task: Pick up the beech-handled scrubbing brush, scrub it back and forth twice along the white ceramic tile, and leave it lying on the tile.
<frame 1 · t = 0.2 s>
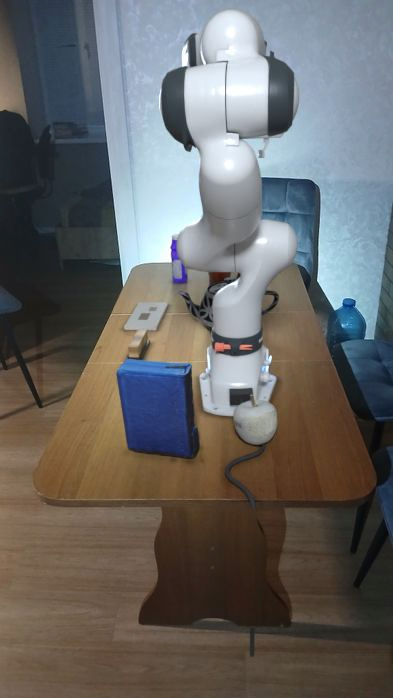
hand: (242, 158, 128), 48 cm above the table, tool pointing down, fingers open, 8 cm apart
tile: (147, 316, 161), on the table
bottle: (180, 281, 190), on the table
book: (163, 451, 100), on the table
teapot: (227, 326, 152), on the table
brush: (139, 351, 139), on the table
mug: (224, 295, 175), on the table
decorative object: (255, 440, 102), on the table
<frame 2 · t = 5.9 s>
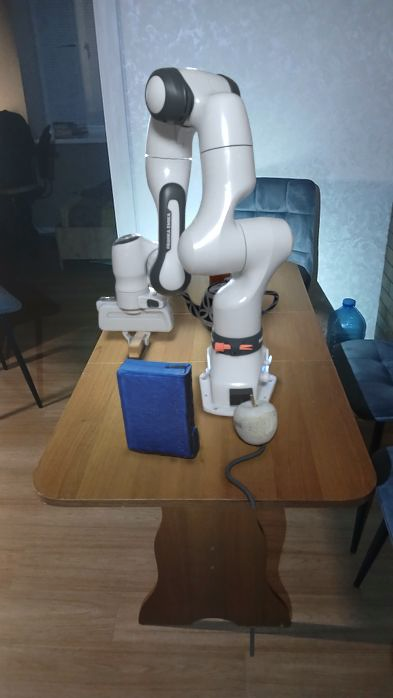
hand: (138, 344, 138), 2 cm above the table, tool pointing down, fingers closed on brush, 2 cm apart
brush: (139, 351, 139), on the table, touching gripper
everything else where it was.
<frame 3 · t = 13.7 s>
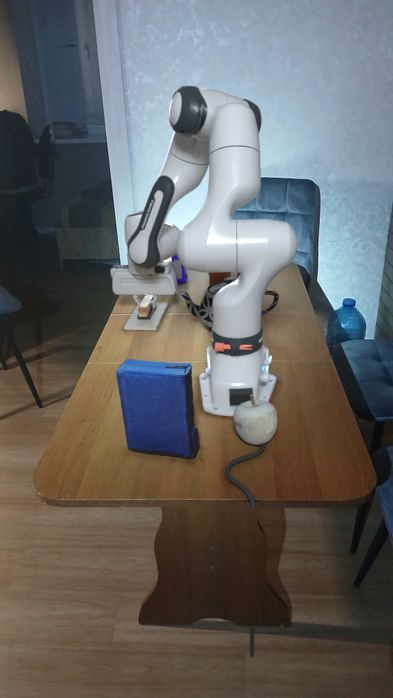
hand: (146, 306, 160), 3 cm above the table, tool pointing down, fingers closed on brush, 2 cm apart
brush: (147, 313, 160), point 1 cm above the table, touching gripper
everything else where it was.
when the fingers open (3 cm above the table, at t = 21.5 s): brush stays where it is, resting on tile.
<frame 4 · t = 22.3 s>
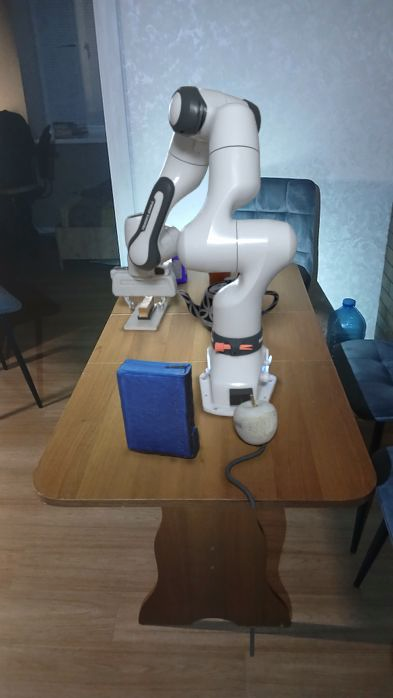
hand: (146, 308, 159), 3 cm above the table, tool pointing down, fingers open, 8 cm apart
brush: (147, 313, 160), point 1 cm above the table, touching tile
everything else where it was.
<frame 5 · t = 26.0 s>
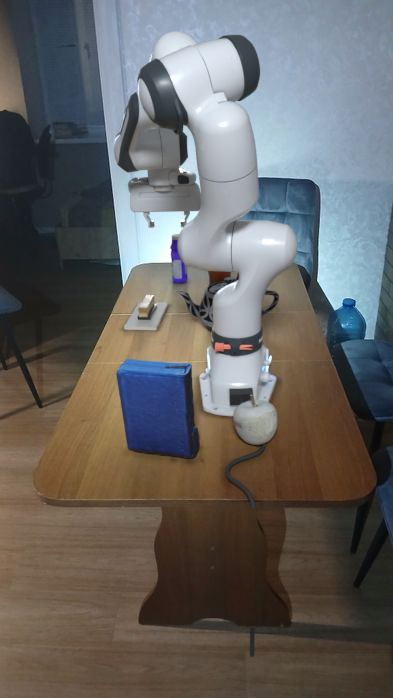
hand: (167, 227, 144), 29 cm above the table, tool pointing down, fingers open, 8 cm apart
nothing on the table moved.
at the end: brush inside the target area on the tile (0.2 cm from its centre), point 1.1 cm above the tile's base; brush touching tile; the gripper is holding nothing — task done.
